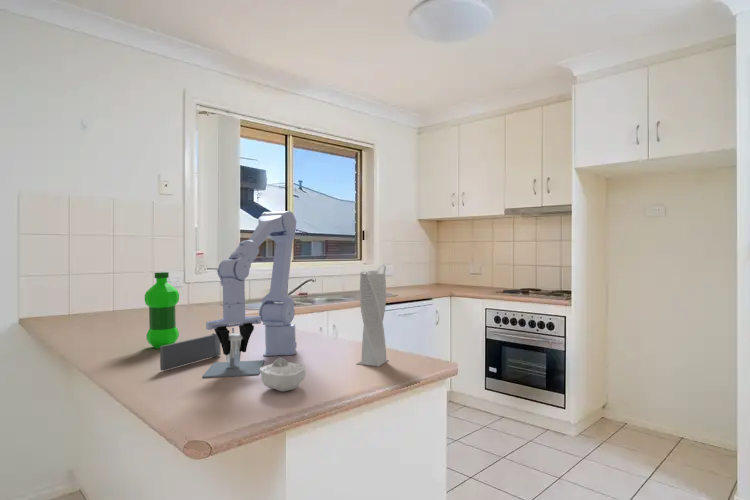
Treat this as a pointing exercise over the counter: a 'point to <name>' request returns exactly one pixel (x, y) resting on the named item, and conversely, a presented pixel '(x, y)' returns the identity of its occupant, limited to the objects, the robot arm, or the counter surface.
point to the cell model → (282, 375)
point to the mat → (234, 369)
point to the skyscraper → (373, 317)
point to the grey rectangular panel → (189, 351)
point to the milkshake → (234, 350)
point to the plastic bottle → (162, 311)
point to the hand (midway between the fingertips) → (234, 352)
